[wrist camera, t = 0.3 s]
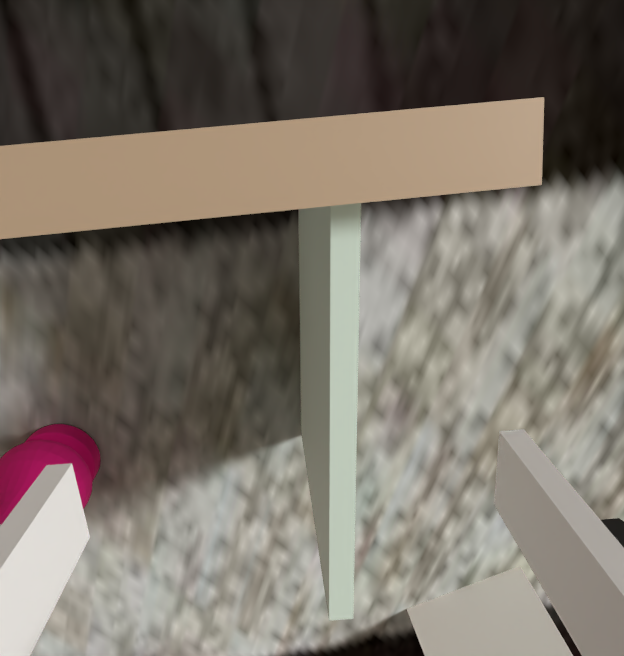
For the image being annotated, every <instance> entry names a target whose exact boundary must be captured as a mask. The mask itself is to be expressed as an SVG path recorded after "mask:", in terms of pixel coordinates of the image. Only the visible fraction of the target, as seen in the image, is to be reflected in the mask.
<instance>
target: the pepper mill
mask: <svg viewBox="0 0 624 656" xmlns="http://www.w3.org/2000/svg"><path fill="white" fill-rule="evenodd" d="M69 463H72V465H73V469H74V473H75V477H76V482H77V486H78V490H79V494H80V498H81V502H82V506H83V509H84V507H85V506H86V504H87V503H88V500H89V498H90V495H91V492H92V481H93V480H94V478H95V476H96V474H97V472H98V470H99V467H100V453H99V450H98V447H97V445H96V443H95V442H94V440H93V439H92V438H91V437H90V436H89V435H88V434H87V433H85V432H84V431H82V430H80V429H78V428H76V427H73V426H70V425H65V424H54V425H49V426H45V427H43V428H41V429H39V430H37V431H36V432H34V433H33V434H32V435H31V436H30V437H29V438H28V439H27V440H26V441H25V442H24V443H22V444H20V445H18V446H15V447H14V448H12V449H11V450H9V451H8V452H6V453H5V454H4V455H3V456H2V457H1V458H0V526H1V525H2V524H3V522H4V521H5V520H6V518H7V517H8V516H9V514H10V513H11V512H12V510H13V509H14V508H15V506H16V505H17V504H18V502H19V501H20V500H21V498H22V497H23V496H24V494H25V493H26V492H27V490H28V489H29V488H30V486H31V485H32V484H33V483H34V481H35V480H36V479H37V477H38V476H39V475H40V473H41V472H42V471H43V469H44V468H45V467H46V465H56V464H69Z"/></svg>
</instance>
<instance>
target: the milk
mask: <svg viewBox="0 0 624 656" xmlns="http://www.w3.org/2000/svg"><path fill="white" fill-rule="evenodd" d="M407 612H408V614H409V617H410V619H411V622H412V625H413V627H414V630H415V632H416V635H417V637H418V640H419V643H420V645H421V648H422V650H423V653H424V655H425V656H573V655H572V653H571V651H570V650H569V648H568V646H567V645H566V643H565V641H564V639H563V638H562V636H561V634H560V633H559V631H558V629H557V628H556V626H555V624H554V622H553V621H552V619H551V617H550V616H549V614H548V612H547V610H546V609H545V607H544V605H543V604H542V602H541V600H540V599H539V597H538V595H537V593H536V592H535V590H534V588H533V587H532V585H531V583H530V581H529V580H528V578H527V576H526V575H525V573H524V571H523V570H522V568H521V566H518V567H515V568H513V569H510V570H507V571H505V572H502V573H500V574H497V575H494V576H492V577H489V578H486V579H484V580H481V581H478V582H476V583H473V584H471V585H468V586H465V587H463V588H460V589H457V590H455V591H452V592H450V593H447V594H444V595H442V596H439V597H436V598H434V599H431V600H428V601H426V602H423V603H421V604H418V605H415V606H413V607H410V608H407Z"/></svg>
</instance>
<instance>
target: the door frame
mask: <svg viewBox="0 0 624 656" xmlns="http://www.w3.org/2000/svg"><path fill="white" fill-rule="evenodd" d="M543 121H544V97H541V98H530V99H519V100H508V101H497V102H486V103H474V104H463V105H452V106H441V107H430V108H419V109H408V110H396V111H385V112H374V113H363V114H352V115H341V116H330V117H319V118H307V119H296V120H285V121H274V122H263V123H252V124H241V125H230V126H218V127H207V128H196V129H185V130H174V131H163V132H152V133H140V134H129V135H118V136H107V137H96V138H85V139H74V140H63V141H51V142H40V143H29V144H18V145H7V146H0V239H6V238H16V237H26V236H36V235H46V234H56V233H66V232H76V231H86V230H96V229H106V228H115V227H125V226H135V225H145V224H155V223H165V222H175V221H185V220H195V219H205V218H215V217H225V216H235V215H245V214H255V213H265V212H275V211H285V210H295V209H305V208H315V207H325V206H335V205H345V204H355V203H365V202H375V201H385V200H395V199H405V198H415V197H425V196H435V195H445V194H455V193H465V192H475V191H485V190H495V189H505V188H515V187H525V186H535V185H542V158H543Z"/></svg>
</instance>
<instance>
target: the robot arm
mask: <svg viewBox="0 0 624 656" xmlns="http://www.w3.org/2000/svg"><path fill="white" fill-rule="evenodd" d="M494 505H495V507H496V509H497V511H498V512H499V514H500V516H501V517H502V519H503V521H504V523H505V524H506V526H507V528H508V529H509V531H510V533H511V535H512V536H513V538H514V540H515V542H516V543H517V545H518V547H519V548H520V550H521V552H522V554H523V555H524V557H525V559H526V560H527V562H528V564H529V566H530V567H531V569H532V571H533V572H534V574H535V576H536V578H537V579H538V581H539V583H540V584H541V586H542V588H543V590H544V591H545V593H546V595H547V596H548V598H549V600H550V602H551V603H552V605H553V607H554V608H555V610H556V612H557V614H558V615H559V617H560V619H561V620H562V622H563V624H564V626H565V627H566V629H567V631H568V632H569V634H570V636H571V638H572V639H573V641H574V643H575V644H576V646H577V648H578V650H579V651H580V653H581V655H582V656H624V521H622V520H621V519H619V518H617V519H605V520H600V519H599V518H598V517H597V515H596V514H595V513H594V512H593V511H592V509H591V508H590V507H589V506H588V505H587V504H586V502H585V501H584V500H583V499H582V498H581V496H580V495H579V494H578V493H577V492H576V491H575V489H574V488H573V487H572V486H571V485H570V483H569V482H568V481H567V480H566V479H565V477H564V476H563V475H562V474H561V473H560V472H559V470H558V469H557V468H556V467H555V466H554V464H553V463H552V462H551V461H550V460H549V459H548V457H547V456H546V455H545V454H544V453H543V451H542V450H541V449H540V448H539V447H538V446H537V444H536V443H535V442H534V441H533V440H532V438H531V437H530V436H529V435H528V434H527V432H526V431H525V430H524V429H521V430H508V431H499V444H498V458H497V473H496V487H495V502H494ZM89 538H90V535H89V531H88V527H87V523H86V519H85V514H84V510H83V506H82V502H81V498H80V494H79V490H78V486H77V482H76V477H75V473H74V469H73V465H72V463H69V464H56V465H46V467H45V468H44V469H43V471H42V472H41V473H40V475H39V476H38V477H37V479H36V480H35V481H34V483H33V484H32V485H31V486H30V488H29V489H28V490H27V492H26V493H25V494H24V496H23V497H22V498H21V500H20V501H19V502H18V504H17V505H16V506H15V508H14V509H13V510H12V512H11V513H10V514H9V516H8V517H7V518H6V520H5V521H4V522H3V524H2V525H1V526H0V656H30V655H31V653H32V651H33V649H34V647H35V645H36V643H37V641H38V639H39V637H40V635H41V633H42V631H43V629H44V627H45V625H46V623H47V621H48V619H49V617H50V615H51V613H52V611H53V609H54V607H55V605H56V603H57V601H58V599H59V597H60V595H61V593H62V591H63V589H64V587H65V585H66V583H67V581H68V580H69V578H70V576H71V574H72V572H73V570H74V568H75V566H76V564H77V562H78V560H79V558H80V556H81V554H82V552H83V550H84V548H85V546H86V544H87V542H88V540H89Z"/></svg>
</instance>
